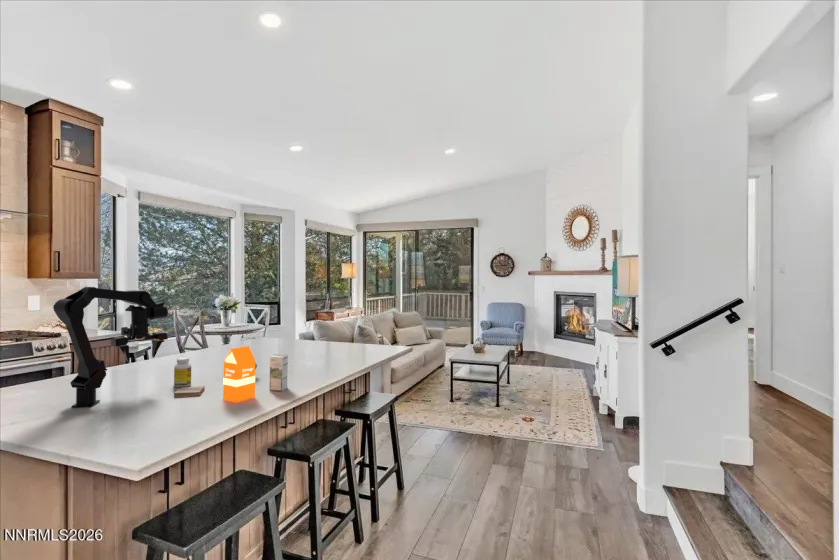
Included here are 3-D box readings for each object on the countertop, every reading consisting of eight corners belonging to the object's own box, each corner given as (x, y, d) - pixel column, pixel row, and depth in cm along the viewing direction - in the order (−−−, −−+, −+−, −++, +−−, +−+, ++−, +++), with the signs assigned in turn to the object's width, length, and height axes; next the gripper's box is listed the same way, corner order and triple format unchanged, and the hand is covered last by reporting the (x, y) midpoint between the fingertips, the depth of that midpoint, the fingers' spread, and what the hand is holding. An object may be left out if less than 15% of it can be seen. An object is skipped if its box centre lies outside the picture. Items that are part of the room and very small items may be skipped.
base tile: (199, 395, 170) (199, 392, 170) (174, 397, 168) (174, 393, 168) (204, 389, 179) (204, 386, 179) (180, 391, 176) (180, 387, 176)
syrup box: (287, 387, 185) (288, 354, 185) (282, 391, 179) (282, 356, 179) (275, 387, 185) (275, 353, 185) (268, 390, 179) (269, 356, 179)
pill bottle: (185, 387, 182) (186, 360, 182) (170, 387, 182) (171, 359, 182) (194, 383, 188) (194, 357, 188) (179, 383, 188) (179, 356, 188)
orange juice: (222, 399, 166) (223, 347, 166) (241, 394, 174) (242, 344, 173) (236, 402, 162) (237, 349, 162) (255, 397, 170) (256, 346, 170)
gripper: (156, 317, 186) (157, 353, 187) (105, 322, 171) (106, 361, 172) (168, 319, 179) (168, 356, 180) (115, 324, 164) (117, 365, 165)
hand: (140, 359), depth 175 cm, fingers open, 9 cm apart
